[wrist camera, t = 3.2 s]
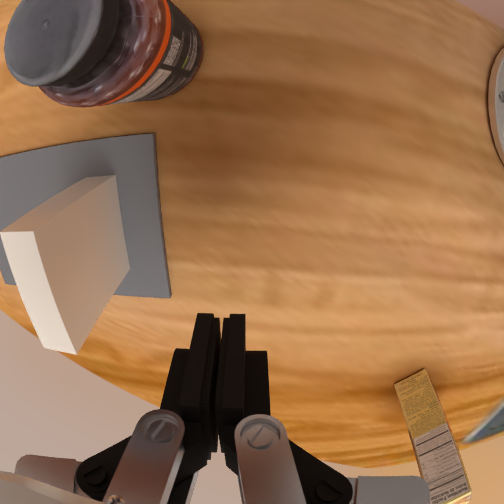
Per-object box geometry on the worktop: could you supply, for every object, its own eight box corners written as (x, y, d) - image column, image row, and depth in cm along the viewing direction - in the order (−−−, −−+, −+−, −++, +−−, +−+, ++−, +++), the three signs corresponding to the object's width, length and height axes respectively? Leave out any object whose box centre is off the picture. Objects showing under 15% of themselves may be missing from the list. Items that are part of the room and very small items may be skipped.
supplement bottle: (107, 32, 14) (-17, 1, 4) (196, 2, 14) (126, -87, 4) (123, 112, 17) (-3, 143, 7) (213, 87, 17) (149, 71, 6)
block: (115, 175, 19) (33, 231, 11) (130, 268, 22) (77, 354, 14) (85, 177, 19) (-1, 232, 11) (102, 267, 22) (43, 347, 14)
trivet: (155, 132, 18) (152, 133, 17) (171, 294, 23) (170, 298, 23) (-23, 163, 18) (-26, 164, 18) (8, 281, 24) (5, 283, 23)
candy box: (436, 399, 30) (473, 500, 17) (407, 415, 32) (436, 518, 18) (425, 366, 27) (474, 490, 14) (390, 384, 28) (427, 512, 15)
